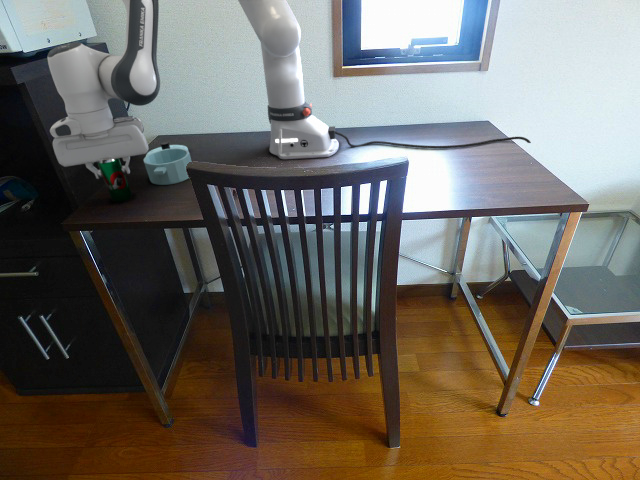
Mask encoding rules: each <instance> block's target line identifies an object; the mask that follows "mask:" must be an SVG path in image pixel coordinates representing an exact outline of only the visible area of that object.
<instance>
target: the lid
mask: <svg viewBox="0 0 640 480" xmlns="http://www.w3.org/2000/svg"><path fill="white" fill-rule="evenodd" d="M175 147H179V148H182V149H186V150H188V151H189V148H188V147H187V146H186V145H184V144H170V143H169V141H163V142H160V146H159V147H156V148H154V149H151V150H148V151H147V153H146V154H145V157H146V156H148V155H149V154H151V153H154V152H157V151H160V150H164V149H171V148H175Z"/></svg>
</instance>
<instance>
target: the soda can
mask: <svg viewBox="0 0 640 480" xmlns="http://www.w3.org/2000/svg"><path fill="white" fill-rule="evenodd" d="M120 159H121V158H117V159H111V157H109V158H104V159H100V161H98V162H96V164H97V167H98V170H100V171H101V174H102V176H103V178H102V179H103V181H104V183H105V186H106V189H107V191H108V194H109V196H110V198H111V200H112V201H113V202H115V203H123V202H126V201H129V200H130V199H131V198H132V196H133V193H132V190H131V186H130V184H129V182H128V178H127V175H126V174H123V171H122V169H121V168H122V166H123V165H122V162H121V160H120Z"/></svg>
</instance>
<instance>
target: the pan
mask: <svg viewBox="0 0 640 480" xmlns="http://www.w3.org/2000/svg"><path fill="white" fill-rule="evenodd" d="M142 161H143V164H144V166H145V169H146V173H147V175H148V178H149V181H150V183H151V184H154V185H157V186H164V185H165V186H166V185H173V184H179V183H182V182H184V181H187V180H188V179H190V178H189V177H188V175H187V172H186V166H187V164H188V163H189V162H192V163H193V161H192V158H191V153H190V151H189V149H188V150H186V149H182V148H179V147H175V148H171V149H164V150H160V151H157V152H154V153H151V154H149V155H148V156H146V155H145V157H144V158H143V159H142Z"/></svg>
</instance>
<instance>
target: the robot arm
mask: <svg viewBox="0 0 640 480" xmlns="http://www.w3.org/2000/svg"><path fill="white" fill-rule="evenodd" d="M121 1H122V3H123V4H124V7H125V11H126V22H125V23H126V25H125V29H126V30H125V43H124V44H125V46H124V51H123V53H122V54H121V55H119V54H112V53H107V52H104V51H99V50H96V49H94V48H91V47H89V46H87V45H85V44H84V43H82V42H77V41H75V42H69V43H64V44H60V45H57V46H55V47H54V48H52V49H50V50H49V52H48V54H47V64H48V68H49V72H50V75H51V77H52V80H53V83H54V85H55V88H56V91H57V93H58V94H59V95H60V97H61V98H62V100H63V102H64V106H65V107H64V108H65V112H66V114H67V116H66V117H64V118H61V119H59V120H57V121H55V122H54V123H53V124H52V126H51V127H50V129H49V133H50V135H51V136H52V137H53V141H52V148H53V151H54V155H55V157H56V160H57V162H58V164H59V165H60V166H62V167H64V168H67V167H72V166H73V167H74V166H79V165H85V167H86V169H88V170H89V171H90V172H92V174H94V176H95V179H96V180H100V179H103V176H102V174H101V171H100V169H99V168H97V167H96V166H94V164H95V163H97V162H98V161H100V159H104V158H109V157H111V159H117V158H119V159H122V161H123V162H125V165H122V168H121V169H122V171H123V174H125V175H130V174H131V170H130V166H129V165H130V161H131V157H136V156H141V155H142V156H143V155H146V154H147V153H148V152H149V149H150V147H149V143H148V141H147V138H146V136H145V134H144V132H145V129H144V128H145V127H144V125H143V121H142V120H141V119H140V118H138V117H134V116H133V115H127V116H123V117H122V116H121V117H113V114H112V111H111V108H110V106H109V103H108V102H109V100H110V99H116V100H120V101H124V102H126V103H128V104H130V105H133V106H136V107H137V106H138V107H142V106H147V105H149V104H151V103H152V102H154V101H155V99H156V98H157V97H158V95H159V93H160V89H161V78H160V71H159V67H158V59H157V53H158V36H159V17H160V16H159V15H160V14H159V12H160V11H159V7H160V6H159V5H160V4H159V0H121ZM237 1H238V3H239V4H240V7H241V8H242V10H243V12H244V14H245V16H246V18H247V20H248V22H249V23H250V26H251V27H252V29H253V31H254V33H255V34H256V37H257V38H258V40H259V43H260V49H261V57H262V64H263V72H264V80H265V81H264V82H265V88H266V95H267V96H266V97H267V103H268V104H267V118H268V121H269V124H270V141H269V149H268V150H269V152H270V153H271V154H272V155H274V156H277V157H278V158H279V159H281V160H298V159H314V158H329V157H332V156H334V154H336V153H337V151H338V150H339V147H340V144H339V141H338V140H337V139H336V135H338V136H340V137H342V138H344V139H345V140H346V143H347V145H348V146H349V147H351V148H359V147H364V146H369V145H372V144H373V145H375V144H380V145H381V144H382V145H391V146H396V147H397V146H398V147H408V148H419V149H453V148H454V149H457V148H467V147H473V146H481V145H485V144H491V143H497V142H506V141H512V140H522V141H525V142H526V143H527V144H531V143H532V142H531V141H530V140H529V139H528V138H526V137H525V136H509V137H504V138H493V139H489V140H484V141H480V142H479V141H478V142H472V143H465V144H452V145H425V144H424V145H423V144H422V145H421V144H410V143H401V142H391V141H385V140H384V141H383V140H373V141H372V140H371V141H368V142H365V143H361V144H357V145H355V144H352V143H351V142H350V139H349V138H348V137H347V135H345V134H344V133H341V132H339V131H336V126H328V125H327V124H326V123H325V122H323V121H321V120H320V118H319V119H318V118H317V117H316V116H315V115H313V110H312V109H313V107H312V106H313V103H308V102H306V101H305V90H304V78H303V76H304V75H303V70H302V62H301V54H300V42H301V39H302V30H301V27H300V24H299V22H298V20H297V18H296V16H295V14H294V12H293V10H292V8H291V7H290V4H289V2H288V1H287V0H237Z"/></svg>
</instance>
